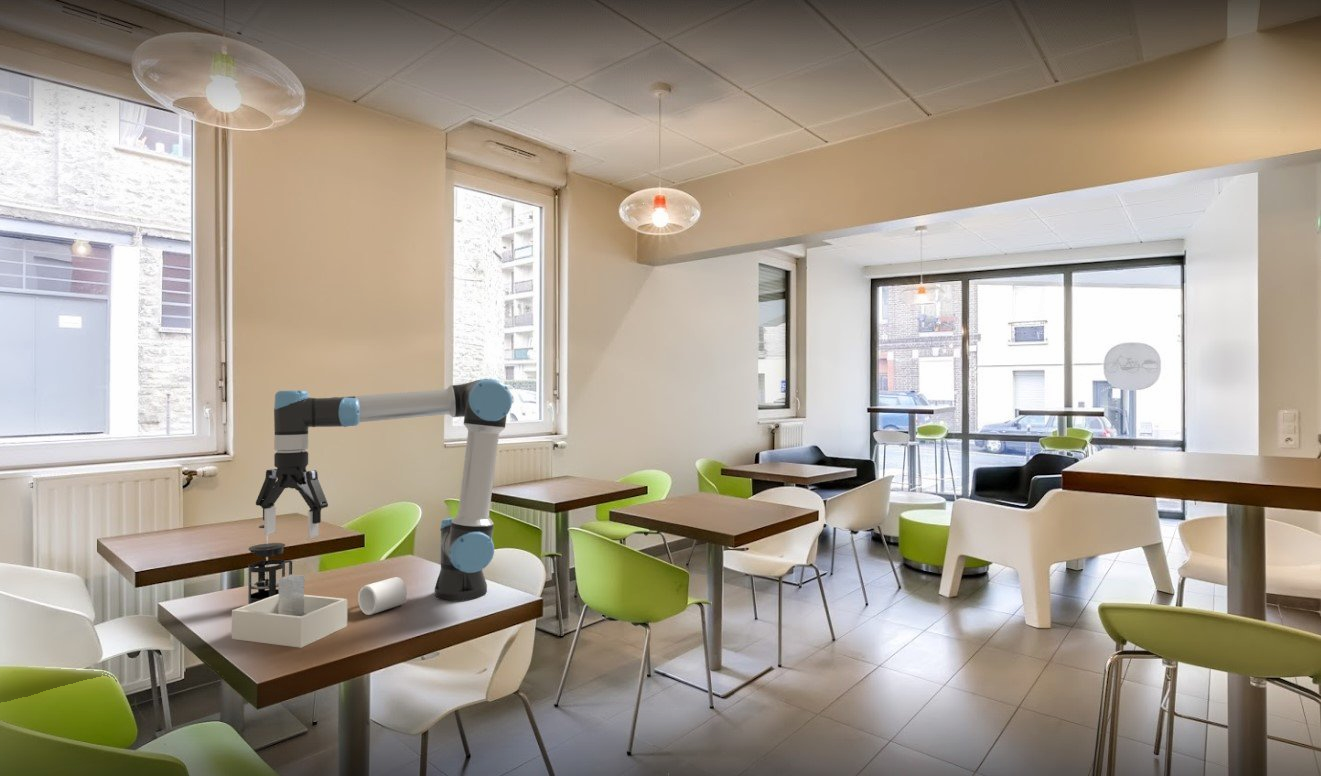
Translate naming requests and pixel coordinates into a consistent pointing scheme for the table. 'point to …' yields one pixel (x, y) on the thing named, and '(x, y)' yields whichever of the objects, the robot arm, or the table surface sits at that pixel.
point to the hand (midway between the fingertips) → (291, 535)
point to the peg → (291, 595)
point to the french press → (266, 570)
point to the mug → (382, 595)
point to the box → (289, 621)
